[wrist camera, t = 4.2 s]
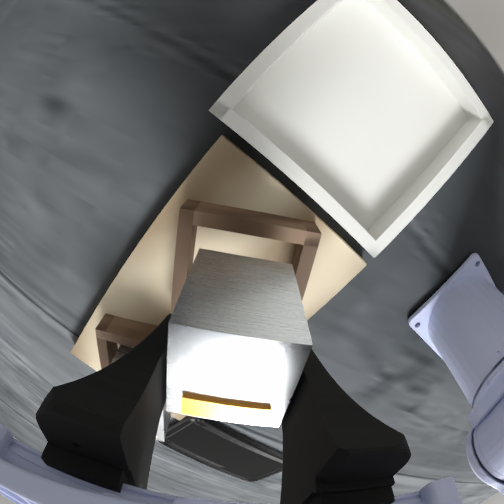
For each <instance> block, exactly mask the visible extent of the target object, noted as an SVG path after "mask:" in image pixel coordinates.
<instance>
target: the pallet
mask: <svg viewBox="0 0 504 504" xmlns="http://www.w3.org/2000/svg"><path fill="white" fill-rule="evenodd" d="M199 248H201V249H207V250H213V251H218V252H224V253H230V254H235V255H241V256H247V257H253V258H258V259H264V260H270V261H275V262H281V263H287V264H292V265H293V269H294V273H295V277H296V280H297V284H298V288H299V292H300V296H301V300H302V304H303V308H304V312H305V316H306V320H308V319H309V318H310V317H311V316H312V315H314V314H315V313H316V312H317V311H318V310H319V309H320V308H321V307H322V306H324V305H325V304H326V303H327V302H328V301H329V300H330V299H331V298H332V297H333V296H335V295H336V294H337V293H338V292H339V291H340V290H341V289H342V288H343V287H344V286H345V285H346V284H347V283H348V282H349V281H350V280H352V279H353V278H354V277H355V276H356V275H357V274H358V273H359V272H360V271H361V270H362V269H363V268H364V267H365V266H366V265H367V264H366V263H365V261H364V260H363V258H362V257H361V256H360V255H359V254H358V253H357V252H356V251H355V250H354V249H352V248H351V247H350V246H349V245H348V244H347V243H346V242H345V241H344V240H343V239H342V238H341V237H340V236H339V235H338V234H337V233H336V232H335V231H334V230H333V229H331V228H330V227H329V226H328V225H327V224H326V223H325V222H324V221H323V220H322V219H321V218H320V217H319V216H317V215H316V214H315V213H314V212H313V211H312V210H311V209H310V208H309V207H308V206H306V205H305V204H304V203H303V202H302V201H301V200H300V199H299V198H298V197H296V196H295V195H294V194H293V193H292V192H291V191H290V190H288V189H287V188H286V187H285V186H284V185H283V184H282V183H280V182H279V181H278V180H277V179H276V178H275V177H274V176H272V175H271V174H270V173H269V172H268V171H267V170H265V169H264V168H263V167H262V166H261V165H259V164H258V163H257V162H256V161H255V160H254V159H252V158H251V157H250V156H249V155H248V154H246V153H245V152H244V151H243V150H241V149H240V148H239V147H238V146H237V145H235V144H234V143H233V142H232V141H230V140H229V139H228V138H227V137H225V136H224V135H221V136H220V137H219V139H218V140H217V141H216V142H215V143H214V145H213V146H212V147H211V148H210V149H209V151H208V152H207V153H206V154H205V156H204V157H203V158H202V159H201V160H200V162H199V163H198V164H197V165H196V167H195V168H194V169H193V170H192V172H191V173H190V174H189V175H188V177H187V178H186V179H185V181H184V182H183V183H182V184H181V186H180V187H179V188H178V190H177V191H176V192H175V194H174V195H173V196H172V198H171V199H170V200H169V202H168V203H167V204H166V206H165V207H164V208H163V210H162V211H161V212H160V214H159V215H158V216H157V218H156V219H155V221H154V222H153V223H152V225H151V226H150V228H149V229H148V230H147V232H146V233H145V235H144V236H143V237H142V239H141V240H140V242H139V243H138V245H137V246H136V248H135V249H134V251H133V252H132V253H131V255H130V256H129V258H128V259H127V261H126V262H125V264H124V265H123V267H122V268H121V270H120V271H119V273H118V275H117V276H116V278H115V279H114V281H113V282H112V284H111V285H110V287H109V289H108V290H107V292H106V293H105V295H104V297H103V298H102V300H101V301H100V303H99V305H98V306H97V308H96V310H95V311H94V313H93V315H92V316H91V318H90V320H89V321H88V323H87V325H86V326H85V328H84V330H83V332H82V333H81V335H80V337H79V339H78V340H77V342H76V344H75V346H74V347H73V349H72V351H71V353H72V354H73V355H75V356H76V357H77V358H79V359H80V360H82V361H83V362H84V363H86V364H87V365H89V366H90V367H91V368H93V369H94V370H96V371H99V370H101V369H103V368H104V367H106V366H108V365H110V364H111V362H112V360H113V358H114V356H115V354H116V352H117V350H118V348H119V346H120V344H122V345H126V346H130V347H135V346H136V345H138V344H139V343H140V342H141V341H142V340H144V339H145V338H146V337H147V336H148V335H149V334H150V333H151V332H152V331H153V330H154V329H155V328H156V327H157V326H158V325H159V324H160V323H161V322H162V321H163V320H164V318H165V317H166V316H167V315H168V314H172V313H173V310H174V308H175V305H176V303H177V301H178V298H179V296H180V293H181V291H182V288H183V286H184V284H185V281H186V279H187V276H188V274H189V272H190V269H191V267H192V265H193V262H194V260H195V258H196V255H197V253H198V251H199ZM171 416H172V417H174V418H176V419H177V420H179V421H180V420H181V419H183V418H184V417H186V416H189V415H184V414H179V413H174V412H172V413H171ZM191 417H193V416H191Z"/></svg>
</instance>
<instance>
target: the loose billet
mask: <svg viewBox="0 0 504 504" xmlns="http://www.w3.org/2000/svg"><path fill="white" fill-rule="evenodd" d="M312 346H313V344H312V340H311V336H310V332H309V328H308V324H307V320H306V316H305V312H304V308H303V304H302V300H301V296H300V292H299V288H298V284H297V280H296V277H295V273H294V269H293V265H292V264H287V263H281V262H275V261H270V260H264V259H258V258H253V257H247V256H241V255H235V254H230V253H224V252H218V251H213V250H207V249H201V248H199V251H198V253H197V255H196V258H195V260H194V262H193V265H192V267H191V269H190V272H189V274H188V276H187V279H186V281H185V284H184V286H183V288H182V291H181V293H180V296H179V298H178V301H177V303H176V305H175V308H174V310H173V313H172V315H171V318H170V320H169V324H168V346H167V387H166V411H169V412H174V413H179V414H184V415H189V416H194V417H200V418H206V419H212V420H219V421H225V422H233V423H241V424H249V425H259V426H270V427H279V425H280V423H281V421H282V419H283V417H284V414H285V412H286V410H287V407H288V405H289V403H290V400H291V398H292V396H293V393H294V391H295V389H296V386H297V384H298V381H299V379H300V376H301V374H302V372H303V369H304V367H305V364H306V361H307V359H308V356H309V354H310V351H311V349H312Z"/></svg>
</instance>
